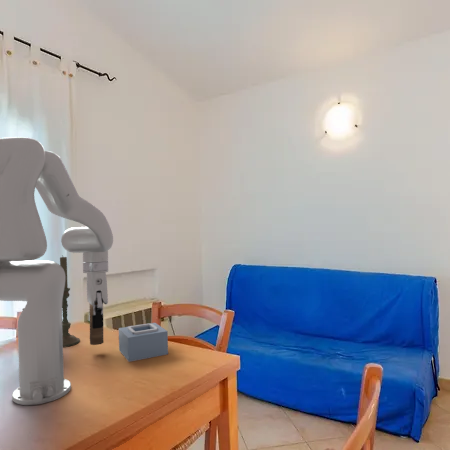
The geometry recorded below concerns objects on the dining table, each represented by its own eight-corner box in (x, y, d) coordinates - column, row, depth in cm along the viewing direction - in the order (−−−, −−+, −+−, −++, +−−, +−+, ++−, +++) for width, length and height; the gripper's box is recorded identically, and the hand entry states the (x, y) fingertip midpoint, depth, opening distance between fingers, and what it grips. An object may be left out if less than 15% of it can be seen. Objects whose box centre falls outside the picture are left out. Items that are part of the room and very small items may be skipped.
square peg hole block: (168, 354, 116) (167, 329, 116) (128, 361, 111) (127, 335, 111) (155, 343, 127) (155, 320, 127) (119, 350, 121) (118, 326, 121)
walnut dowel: (104, 343, 118) (104, 298, 119) (91, 345, 116) (90, 299, 117) (102, 340, 122) (101, 296, 122) (89, 342, 120) (88, 297, 120)
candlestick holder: (52, 340, 133) (50, 254, 133) (80, 337, 136) (78, 253, 136) (49, 348, 125) (46, 256, 125) (79, 345, 127) (76, 255, 127)
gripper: (113, 268, 114) (114, 330, 114) (103, 265, 129) (103, 320, 128) (87, 270, 111) (88, 333, 110) (79, 266, 125) (80, 322, 125)
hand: (96, 325), depth 119 cm, fingers closed on walnut dowel, 4 cm apart
